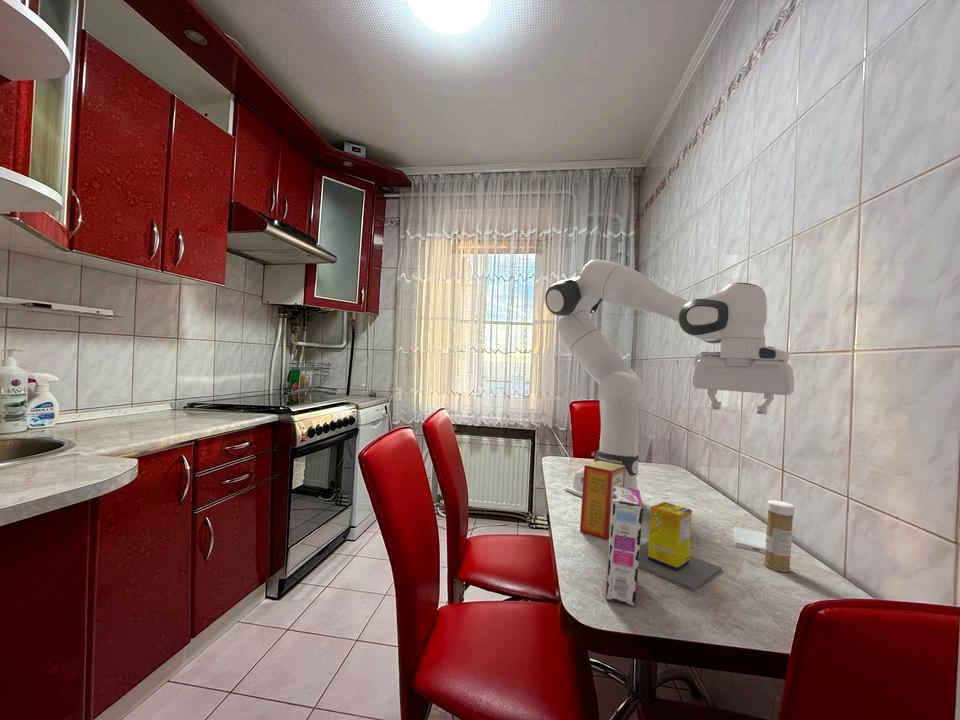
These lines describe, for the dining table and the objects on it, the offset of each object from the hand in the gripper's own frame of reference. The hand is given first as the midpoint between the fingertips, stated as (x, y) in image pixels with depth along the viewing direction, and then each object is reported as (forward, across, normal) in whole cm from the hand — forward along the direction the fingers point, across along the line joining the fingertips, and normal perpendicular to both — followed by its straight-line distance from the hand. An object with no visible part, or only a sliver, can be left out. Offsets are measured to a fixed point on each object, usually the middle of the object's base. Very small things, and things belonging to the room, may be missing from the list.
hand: (738, 411), depth 98 cm
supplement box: (+31, -4, -23) cm, 39 cm away
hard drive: (+32, +3, +8) cm, 33 cm away
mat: (+31, -4, -23) cm, 39 cm away
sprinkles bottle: (+31, +10, -4) cm, 33 cm away
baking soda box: (+31, -22, -19) cm, 43 cm away
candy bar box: (+31, -5, -40) cm, 51 cm away
